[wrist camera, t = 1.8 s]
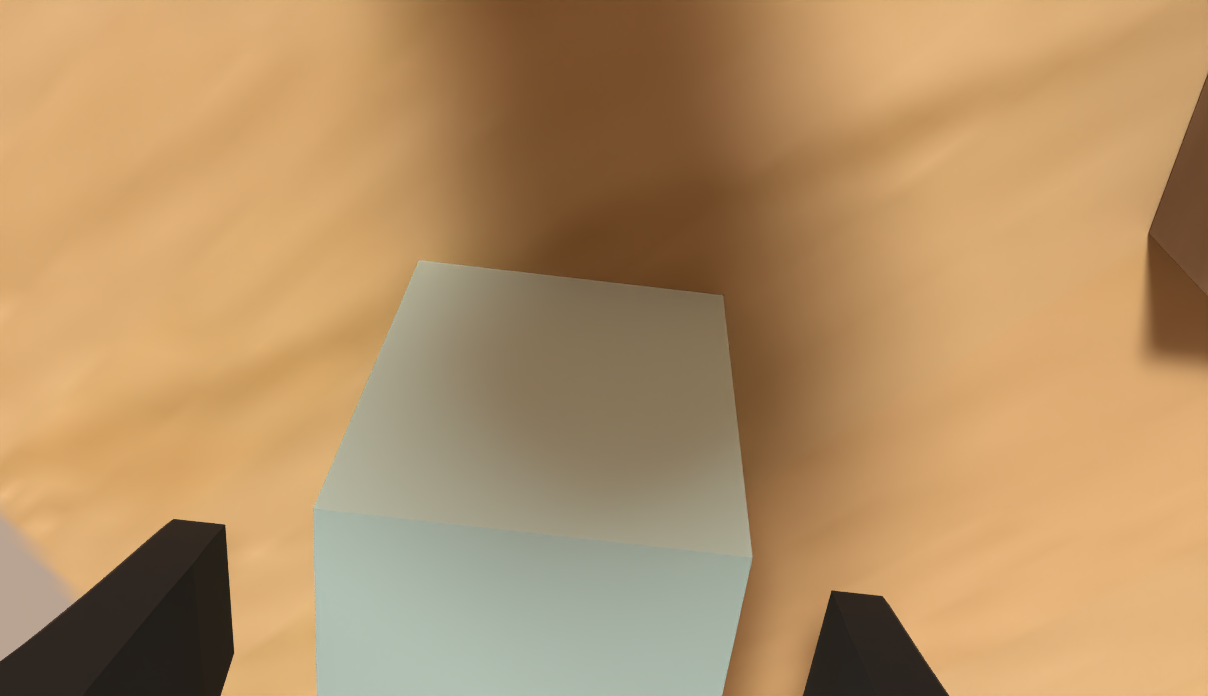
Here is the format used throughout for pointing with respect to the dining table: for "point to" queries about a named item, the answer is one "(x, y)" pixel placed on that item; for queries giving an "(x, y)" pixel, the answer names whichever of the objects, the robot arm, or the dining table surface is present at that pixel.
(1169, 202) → the walnut stand
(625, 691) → the sage block
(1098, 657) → the dining table surface
